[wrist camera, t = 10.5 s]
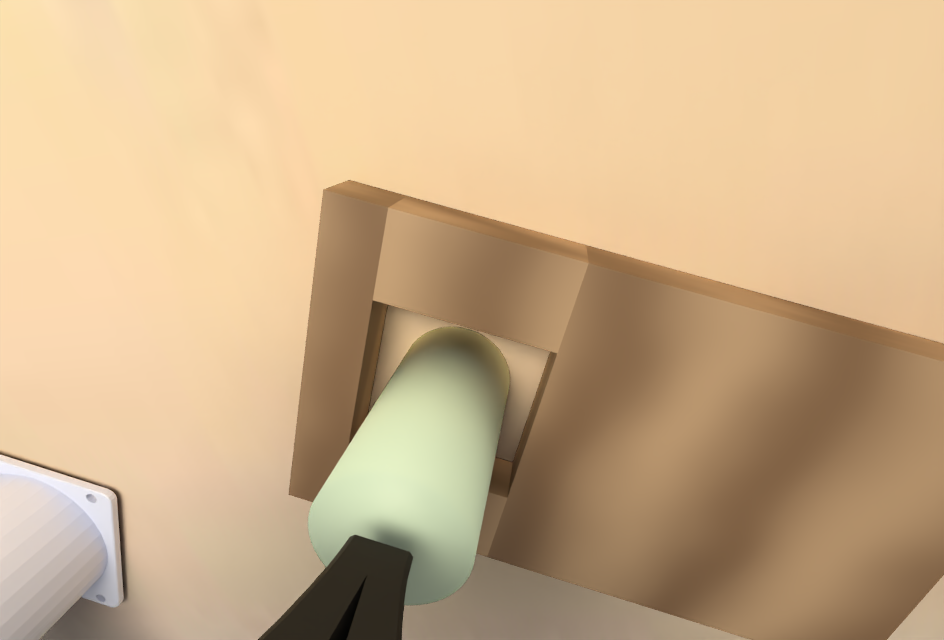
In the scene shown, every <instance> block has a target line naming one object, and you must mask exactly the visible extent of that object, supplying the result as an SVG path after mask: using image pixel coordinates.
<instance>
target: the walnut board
mask: <svg viewBox="0 0 944 640" xmlns="http://www.w3.org/2000/svg"><path fill="white" fill-rule="evenodd" d="M387 305H391V306H395V307H398V308H402V309H405V310H408V311H412V312H415V313H419V314H422V315H426V316H429V317H433V318H436V319H440V320H443V321H447V322H450V323H454V324H457V325H460V326H464V327H467V328H471V329H474V330H478V331H481V332H485V333H488V334H492V335H495V336H499V337H502V338H506V339H509V340H512V341H516V342H519V343H523V344H526V345H530V346H533V347H537V348H540V349H544V350H547V351H550V354H549V357H548V360H547V363H546V366H545V369H544V372H543V375H542V378H541V381H540V384H539V387H538V389H537V392H536V395H535V398H534V401H533V404H532V407H531V410H530V413H529V416H528V419H527V422H526V425H525V428H524V431H523V434H522V437H521V440H520V443H519V446H518V448H517V451H516V454H515V457H514V460H513V463H512V462H509V461H506V460H503V459H499V458H496V457H495V461H494V466H493V471H492V476H491V481H490V486H489V491H488V496H487V501H486V506H485V511H484V516H483V521H482V526H481V531H480V536H479V541H478V546H477V551H476V553H477V554H480V555H483V556H486V557H489V558H492V559H496V560H499V561H502V562H505V563H508V564H512V565H515V566H518V567H521V568H524V569H528V570H531V571H534V572H537V573H540V574H543V575H547V576H550V577H553V578H556V579H559V580H563V581H566V582H569V583H572V584H575V585H579V586H582V587H585V588H588V589H591V590H594V591H598V592H601V593H604V594H607V595H610V596H614V597H617V598H620V599H623V600H626V601H629V602H633V603H636V604H639V605H642V606H645V607H649V608H652V609H655V610H658V611H661V612H665V613H668V614H671V615H674V616H677V617H680V618H684V619H687V620H690V621H693V622H696V623H700V624H703V625H706V626H709V627H712V628H716V629H719V630H722V631H725V632H728V633H731V634H735V635H738V636H741V637H744V638H747V639H751V640H887V639H888V638H889V636H890V635H891V634H892V633H893V632H894V631H895V630H896V628H897V627H898V626H899V625H900V624H901V623H902V622H903V621H904V619H905V618H906V617H907V616H908V615H909V614H910V613H911V611H912V610H913V609H914V608H915V607H916V606H917V605H918V603H919V602H920V601H921V600H922V599H923V598H924V597H925V596H926V594H927V593H928V592H929V591H930V590H931V589H932V588H933V586H934V585H935V584H936V583H937V582H938V581H939V580H940V578H941V577H942V576H943V575H944V344H942V343H939V342H935V341H931V340H928V339H924V338H920V337H917V336H913V335H910V334H906V333H902V332H899V331H895V330H891V329H888V328H884V327H881V326H877V325H873V324H870V323H866V322H862V321H859V320H855V319H851V318H848V317H844V316H841V315H837V314H833V313H830V312H826V311H822V310H819V309H815V308H812V307H808V306H804V305H801V304H797V303H793V302H790V301H786V300H783V299H779V298H775V297H772V296H768V295H764V294H761V293H757V292H753V291H750V290H746V289H743V288H739V287H735V286H732V285H728V284H724V283H721V282H717V281H714V280H710V279H706V278H703V277H699V276H695V275H692V274H688V273H685V272H681V271H677V270H674V269H670V268H666V267H663V266H659V265H655V264H652V263H648V262H645V261H641V260H637V259H634V258H630V257H626V256H623V255H619V254H616V253H612V252H608V251H605V250H601V249H597V248H594V247H590V246H586V245H583V244H579V243H576V242H572V241H568V240H565V239H561V238H557V237H554V236H550V235H547V234H543V233H539V232H536V231H532V230H528V229H525V228H521V227H518V226H514V225H510V224H507V223H503V222H499V221H496V220H492V219H488V218H485V217H481V216H478V215H474V214H470V213H467V212H463V211H459V210H456V209H452V208H449V207H445V206H441V205H438V204H434V203H430V202H427V201H423V200H420V199H416V198H412V197H409V196H405V195H401V194H398V193H394V192H390V191H387V190H383V189H380V188H376V187H372V186H369V185H365V184H361V183H358V182H354V181H351V180H348V181H345V182H343V183H340V184H337V185H335V186H332V187H329V188H327V189H324V190H323V198H322V206H321V215H320V224H319V233H318V242H317V250H316V259H315V268H314V277H313V285H312V294H311V303H310V312H309V320H308V329H307V338H306V347H305V356H304V364H303V373H302V382H301V391H300V399H299V408H298V417H297V426H296V434H295V443H294V452H293V461H292V470H291V478H290V487H289V495H292V496H295V497H298V498H301V499H305V500H308V501H311V502H313V501H314V500H315V498H316V496H317V495H318V493H319V492H320V490H321V488H322V487H323V485H324V484H325V482H326V481H327V479H328V477H329V476H330V474H331V473H332V471H333V469H334V468H335V466H336V465H337V463H338V462H339V460H340V458H341V457H342V455H343V454H344V452H345V450H346V449H347V447H348V446H349V444H350V442H351V441H352V439H353V438H354V436H355V435H356V433H357V431H358V430H359V428H360V427H361V425H362V423H363V422H364V420H365V419H366V417H367V415H368V409H369V404H370V398H371V393H372V387H373V382H374V376H375V371H376V365H377V360H378V354H379V349H380V343H381V338H382V332H383V327H384V321H385V316H386V310H387Z"/></svg>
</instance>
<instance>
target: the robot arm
mask: <svg viewBox="0 0 944 640" xmlns="http://www.w3.org/2000/svg"><path fill="white" fill-rule="evenodd" d="M412 561H413V556H412V554H411V553H410V552H409V551H406V550H403V549H400V548H397V547H393V546H390V545H387V544H384V543H381V542H378V541H374V540H371V539H368V538H365V537H362V536H358V535H353V536H350V537H349V538H348V540H347V541H346V543H345V544H344V545H343V547H342V548H341V550H340V551H339V552H338V553H337V555H336V556H335V557H334V559H333V560H332V561H331V562H330V563H329V565H328V566H327V567H326V568H325V569H324V571H323V572H322V573H321V574H320V575H319V576H318V578H317V579H316V580H315V581H314V582H313V583H312V584H311V586H310V587H309V588H308V589H307V590H306V591H305V592H304V593H303V594H302V595H301V596H300V597H299V598H298V600H297V601H296V602H295V603H294V604H293V605H292V606H291V607H290V608H289V609H288V610H287V611H286V612H285V613H284V614H283V615H282V616H281V617H280V619H279V620H278V621H277V622H276V623H275V624H274V625H272V626H271V627H270V628H269V629H268V630H267V631H266V632H265V633H264V634H263V635H262V636H261V637H260V638H259V639H258V640H402V622H403V611H404V601H405V593H406V586H407V581H408V576H409V572H410V569H411V565H412ZM81 597H82V598H85V599H88V600H91V601H94V602H97V603H100V604H103V605H106V606H109V607H117V606H119V605H120V604H121V602H122V601H123V599H124V595H123V581H122V566H121V551H120V536H119V521H118V506H117V497H116V495H115V494H114V492H112V491H111V490H109V489H107V488H104V487H101V486H98V485H95V484H91V483H88V482H85V481H82V480H79V479H76V478H73V477H70V476H66V475H63V474H60V473H57V472H54V471H51V470H48V469H44V468H41V467H38V466H35V465H32V464H29V463H26V462H23V461H19V460H16V459H13V458H10V457H7V456H4V455H1V454H0V640H40V638H41V637H42V636H43V635H44V634H45V633H46V632H47V631H48V630H49V629H50V628H51V627H52V626H53V625H54V624H55V623H56V622H57V621H58V620H59V619H60V618H61V617H62V616H63V615H64V614H65V613H66V612H67V611H68V610H69V609H70V608H71V607H72V606H73V605H74V604H75V603H76V602H77V601H78V600H79V599H80V598H81Z"/></svg>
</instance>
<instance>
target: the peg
mask: <svg viewBox="0 0 944 640" xmlns="http://www.w3.org/2000/svg"><path fill="white" fill-rule="evenodd" d="M509 386H510V373H509V369H508V365H507V363H506V360H505V358H504V356H503V355H502V353H501V352H500V350H499V349H498V348H497V347H496V346H495V345H494V344H493V343H492V342H491V341H490V340H489V339H487V338H486V337H484V336H483V335H481V334H479V333H477V332H475V331H472V330H469V329H465V328H460V327H444V328H438V329H435V330H432V331H429V332H427V333H425V334H424V335H422V336H421V337H420V338H418V339H417V340H416V341H415V342H414V343H413V344H412V346H411V347H410V349H409V350H408V352H407V354H406V355H405V357H404V358H403V360H402V362H401V363H400V365H399V366H398V368H397V370H396V371H395V373H394V374H393V376H392V377H391V379H390V381H389V382H388V384H387V385H386V387H385V389H384V390H383V392H382V393H381V395H380V396H379V398H378V400H377V401H376V403H375V404H374V406H373V408H372V409H371V411H370V412H369V414H368V416H367V417H366V419H365V420H364V422H363V423H362V425H361V427H360V428H359V430H358V431H357V433H356V435H355V436H354V438H353V439H352V441H351V442H350V444H349V446H348V447H347V449H346V450H345V452H344V454H343V455H342V457H341V458H340V460H339V462H338V463H337V465H336V466H335V468H334V469H333V471H332V473H331V474H330V476H329V477H328V479H327V481H326V482H325V484H324V485H323V487H322V488H321V490H320V492H319V493H318V495H317V496H316V498H315V500H314V501H313V503H312V506H311V508H310V512H309V516H308V530H309V536H310V540H311V543H312V545H313V548H314V550H315V552H316V553H317V555H318V557H319V559H320V560H321V561H322V563H323V564H324V565H325V567H327V566H328V565H329V563H330V562H331V561H332V560H333V559H334V557H335V556H336V555H337V553H338V552H339V551H340V550H341V548H342V547H343V545H344V544H345V543H346V541H347V540H348V538H349V537H350V536H353V535H358V536H362V537H365V538H368V539H371V540H374V541H378V542H381V543H384V544H387V545H390V546H393V547H397V548H400V549H403V550H406V551H409V552H410V553H411V554H412V556H413V561H412V565H411V569H410V572H409V576H408V581H407V586H406V593H405V601H404V605H421V604H428V603H432V602H436V601H439V600H442V599H444V598H446V597H448V596H450V595H452V594H453V593H454V592H456V591H457V590H458V589H460V588H461V586H462V585H463V584H464V583H465V582H466V580H467V579H468V578H469V576H470V574H471V571H472V569H473V565H474V561H475V556H476V551H477V546H478V541H479V536H480V531H481V526H482V521H483V516H484V511H485V506H486V501H487V496H488V491H489V486H490V481H491V476H492V471H493V466H494V461H495V456H496V451H497V446H498V441H499V436H500V431H501V426H502V421H503V416H504V411H505V406H506V401H507V396H508V391H509Z"/></svg>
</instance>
